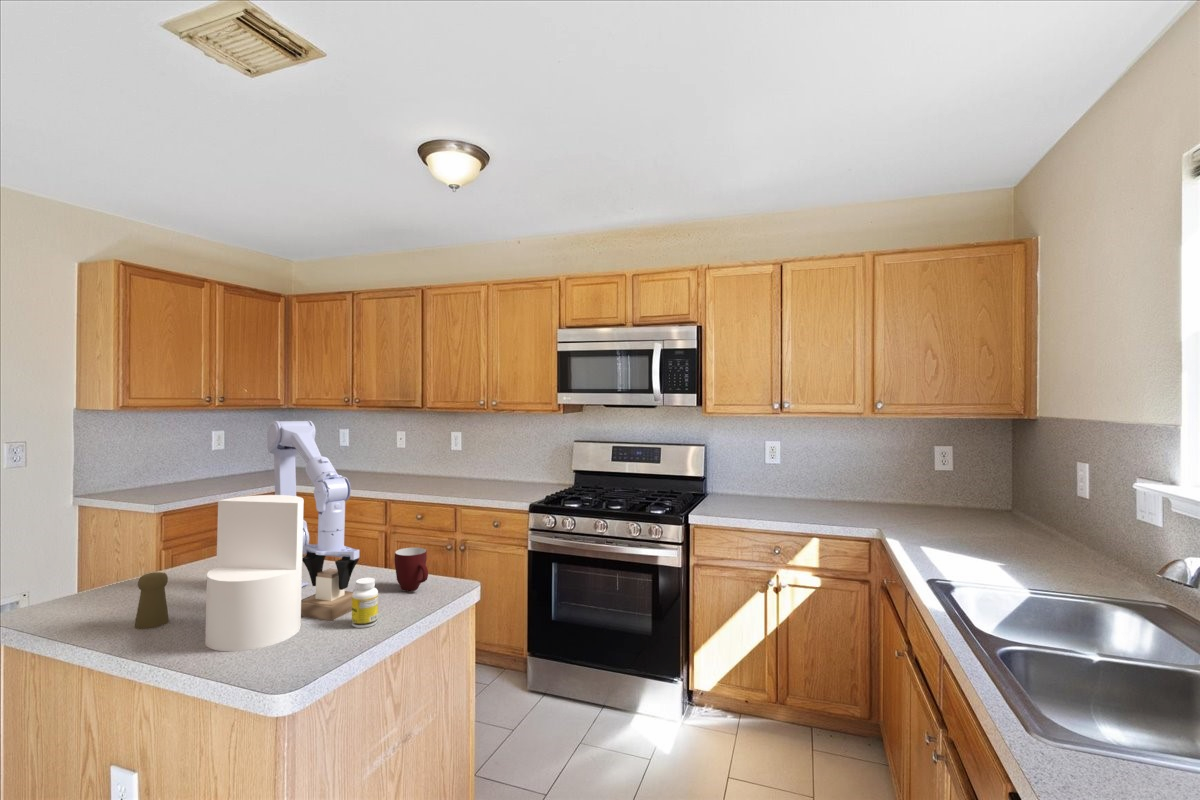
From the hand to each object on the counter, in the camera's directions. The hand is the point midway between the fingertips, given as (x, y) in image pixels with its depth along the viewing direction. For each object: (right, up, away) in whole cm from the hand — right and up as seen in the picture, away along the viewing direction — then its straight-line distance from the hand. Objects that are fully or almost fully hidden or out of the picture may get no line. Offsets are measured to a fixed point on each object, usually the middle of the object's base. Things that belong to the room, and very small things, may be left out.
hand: (329, 586), depth 134 cm
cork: (-34, -5, -10) cm, 36 cm away
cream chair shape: (-9, -6, -14) cm, 18 cm away
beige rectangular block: (0, -3, 0) cm, 3 cm away
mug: (+15, -6, +16) cm, 22 cm away
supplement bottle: (+11, -6, -7) cm, 15 cm away
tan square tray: (0, -6, 0) cm, 6 cm away
